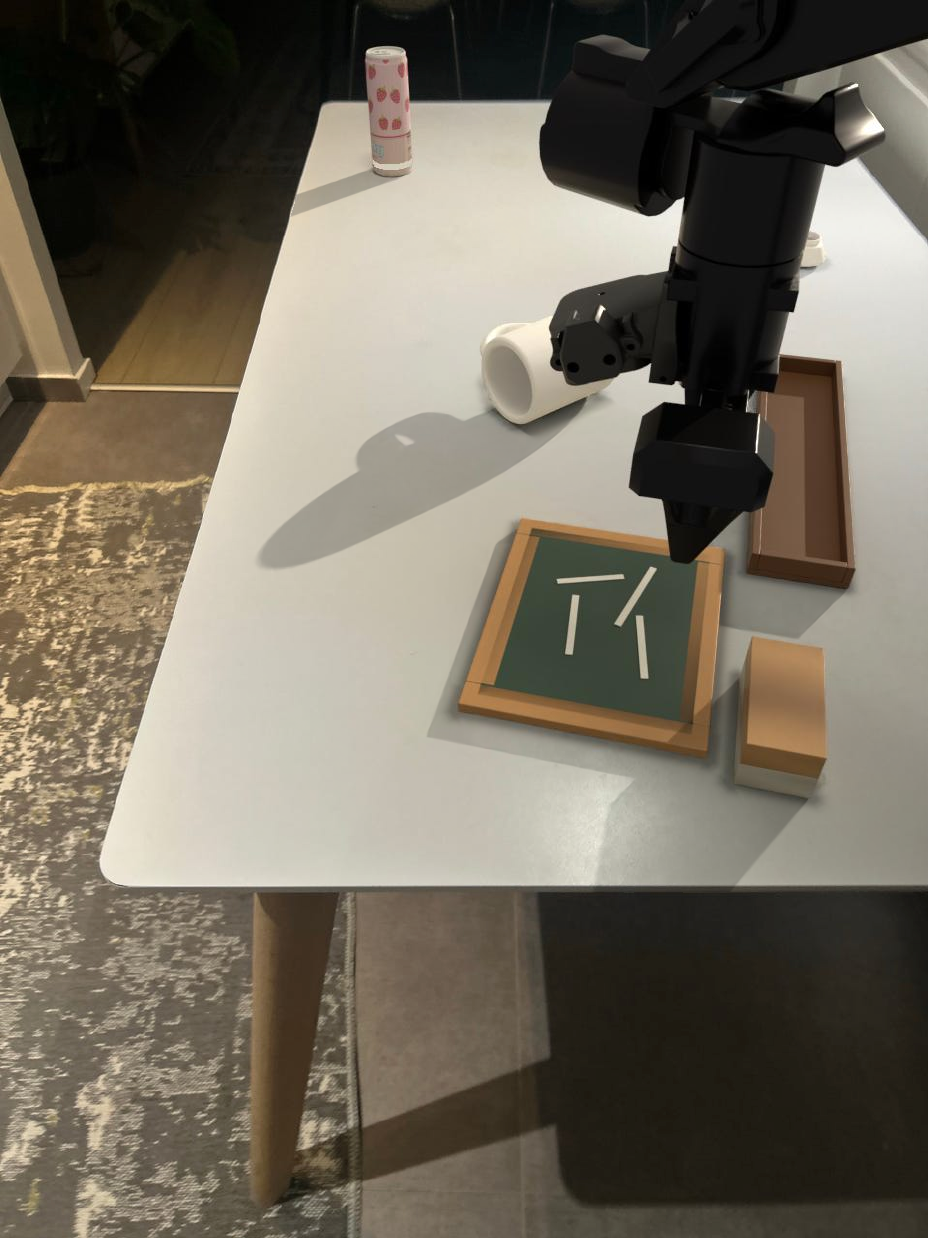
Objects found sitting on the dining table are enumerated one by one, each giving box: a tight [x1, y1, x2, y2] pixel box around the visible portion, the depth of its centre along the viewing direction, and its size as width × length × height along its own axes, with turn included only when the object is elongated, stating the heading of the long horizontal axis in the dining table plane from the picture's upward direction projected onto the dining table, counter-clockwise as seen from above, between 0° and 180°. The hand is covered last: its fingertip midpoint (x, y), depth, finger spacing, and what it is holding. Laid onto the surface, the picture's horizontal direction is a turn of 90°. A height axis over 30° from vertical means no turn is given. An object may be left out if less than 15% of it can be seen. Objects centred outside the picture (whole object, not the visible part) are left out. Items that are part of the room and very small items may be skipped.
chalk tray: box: [746, 353, 857, 589], centre depth 79 cm, size 7×31×2 cm, turn 166°
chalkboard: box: [457, 517, 726, 759], centre depth 66 cm, size 16×20×1 cm
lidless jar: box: [800, 230, 826, 268], centre depth 108 cm, size 5×3×5 cm
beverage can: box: [364, 45, 414, 178], centre depth 127 cm, size 6×6×15 cm
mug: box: [479, 314, 615, 425], centre depth 86 cm, size 12×10×8 cm
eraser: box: [732, 635, 828, 799], centre depth 57 cm, size 9×4×4 cm, turn 166°
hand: (688, 511), depth 53 cm, fingers open, 9 cm apart
